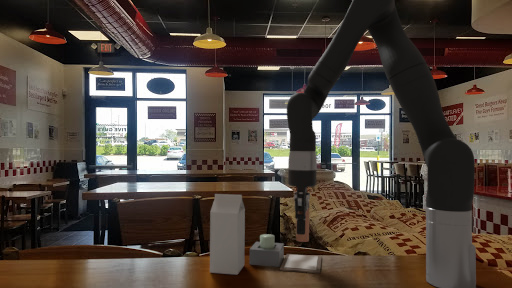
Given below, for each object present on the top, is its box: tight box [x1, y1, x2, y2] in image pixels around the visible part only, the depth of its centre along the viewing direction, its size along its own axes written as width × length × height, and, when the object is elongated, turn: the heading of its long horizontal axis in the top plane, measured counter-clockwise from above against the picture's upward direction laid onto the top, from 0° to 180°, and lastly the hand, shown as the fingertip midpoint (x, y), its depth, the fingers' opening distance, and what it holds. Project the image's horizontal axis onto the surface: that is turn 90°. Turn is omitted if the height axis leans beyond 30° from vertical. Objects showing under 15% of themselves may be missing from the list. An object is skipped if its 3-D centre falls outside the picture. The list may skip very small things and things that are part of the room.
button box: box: [248, 241, 285, 268], centre depth 95 cm, size 8×8×4 cm
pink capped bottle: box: [295, 202, 310, 243], centre depth 93 cm, size 4×4×10 cm
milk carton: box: [209, 193, 246, 275], centre depth 88 cm, size 7×7×19 cm
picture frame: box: [279, 253, 323, 275], centre depth 92 cm, size 10×13×1 cm
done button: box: [259, 233, 276, 249], centre depth 95 cm, size 4×4×5 cm
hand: (301, 232), depth 93 cm, fingers closed on pink capped bottle, 3 cm apart
